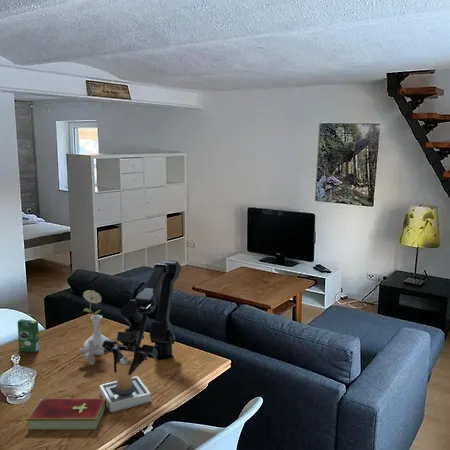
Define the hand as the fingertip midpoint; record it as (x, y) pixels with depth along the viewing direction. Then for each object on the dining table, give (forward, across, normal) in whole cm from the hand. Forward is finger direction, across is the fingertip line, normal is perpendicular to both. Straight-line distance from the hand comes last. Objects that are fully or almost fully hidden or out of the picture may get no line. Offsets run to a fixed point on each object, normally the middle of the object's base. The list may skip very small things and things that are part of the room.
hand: (122, 373), depth 157 cm
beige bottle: (+4, 0, +6) cm, 7 cm away
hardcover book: (+18, -11, -4) cm, 21 cm away
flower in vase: (-16, -30, +30) cm, 46 cm away
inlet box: (+6, 0, +8) cm, 9 cm away
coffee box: (-9, -55, +23) cm, 60 cm away
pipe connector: (-7, -24, +21) cm, 32 cm away
